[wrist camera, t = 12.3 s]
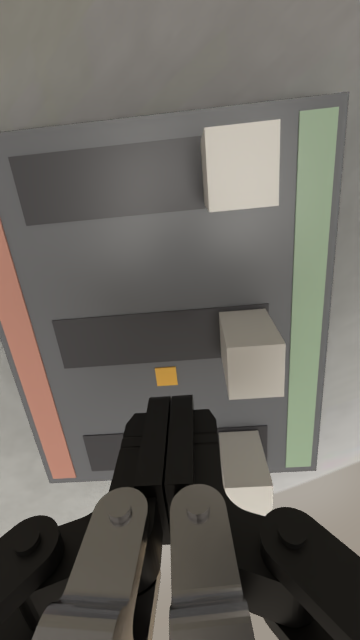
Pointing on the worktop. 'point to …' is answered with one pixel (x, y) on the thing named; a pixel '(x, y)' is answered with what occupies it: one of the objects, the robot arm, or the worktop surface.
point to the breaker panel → (162, 277)
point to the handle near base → (241, 165)
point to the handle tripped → (252, 354)
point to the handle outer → (246, 471)
